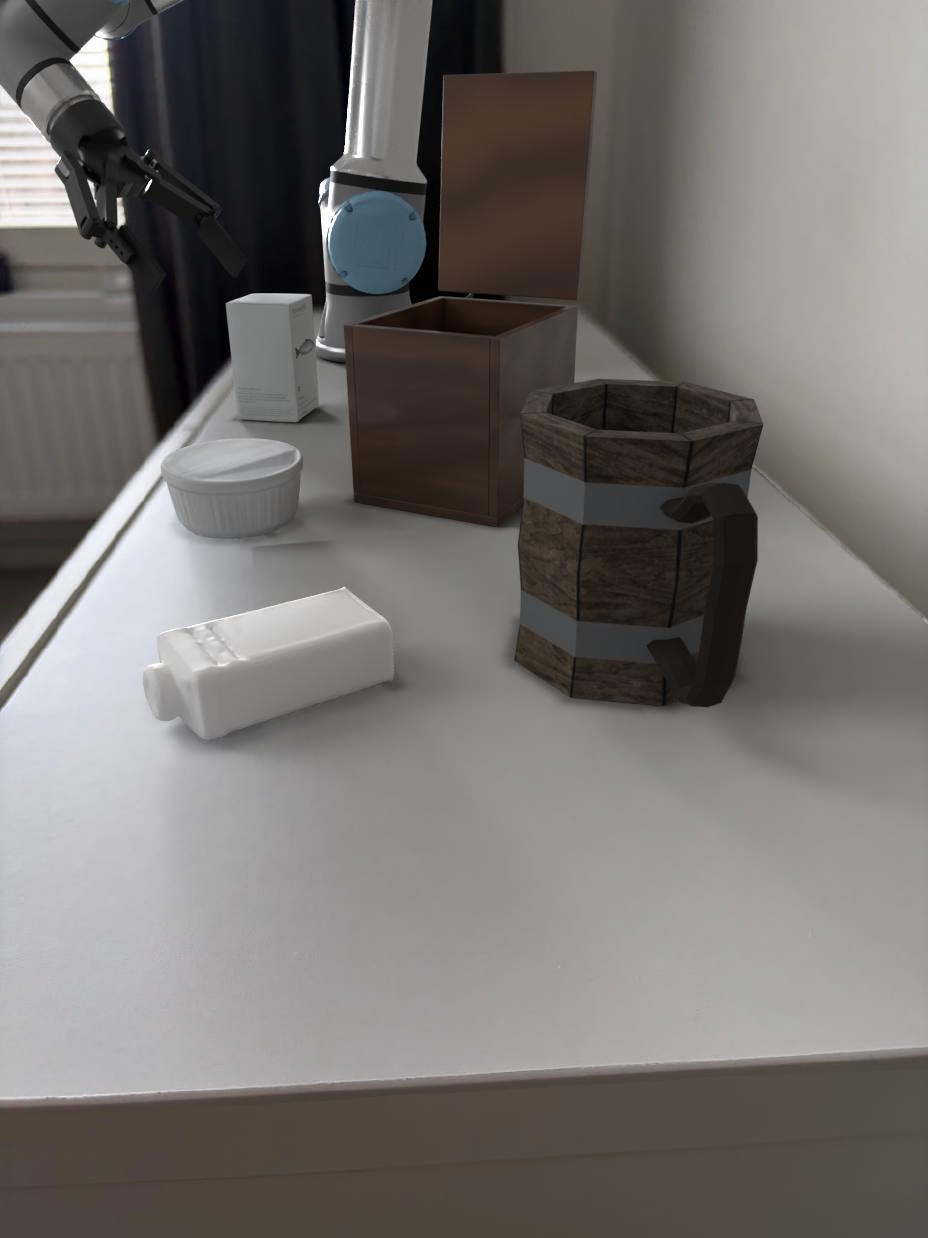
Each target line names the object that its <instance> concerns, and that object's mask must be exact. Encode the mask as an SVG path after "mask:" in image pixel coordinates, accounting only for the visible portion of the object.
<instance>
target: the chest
mask: <svg viewBox="0 0 928 1238" xmlns="http://www.w3.org/2000/svg"><path fill="white" fill-rule="evenodd" d="M578 311H579V306H578V305H568V304H555V303H554V304H553V303H542V302H529V301H528V302H526V301H515V300H514V301H513V300H499V299H498V300H497V299H488V298H487V299H486V298H474V297H473V298H465V297H456V296H446V295H445V296H442V295H440V296H437V297H433V298H430V299H426V300H423V301H420V302H417V303H412V305H409V306H406V307H402V308H399V309H396V310H392V311H389V312H386V313H382V314H379V315H375V316H372V317H369V318H365V319H362V320H359V321H355V322H352V323H349V324H345V325H344V341H345V358H346V362H345V372H346V389H347V406H348V407H347V408H348V422H349V423H348V424H349V440H350V441H349V442H350V457H351V458H350V459H351V474H352V475H351V477H352V492H353V502H354V503H359V504H364V505H371V506H376V507H381V508H386V509H387V508H388V509H393V510H399V511H404V512H410V513H415V514H422V515H427V516H432V517H433V516H434V517H439V518H445V519H451V520H457V521H462V522H467V523H472V524H479V525H485V526H490V527H499V526H500V525H501V524H503V523H504V522H505V521H506V520H508V519H509V518H510V517H512V516H513V515H514V514H516V513H517V512H518V511H520V509H522V505H523V495H524V448H523V438H522V428H521V417H520V413H521V411H522V409H523V407H524V405H525V403H526V401H527V399H528V397H529V394H530V392H531V391H533V390H538V389H544V388H549V387H555V386H561V385H566V384H572V383H575V375H576V354H577V334H578V333H577V332H578V314H579V313H578Z"/></svg>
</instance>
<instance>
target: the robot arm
mask: <svg viewBox="0 0 928 1238" xmlns="http://www.w3.org/2000/svg"><path fill="white" fill-rule="evenodd" d="M184 1H185V0H0V86H1V88H2V89H3V90H4V91H5V92H6V93H7V95H8V96H9V97H10V99H12V101H13V102H14V103H15V104H16V106H18V108H19V109H20V110H21V111H22V113H23V114H24V115H26V117H27V118H28V119H29V121H30V122H31V123H32V124H33V126H34V127H35V128H36V129H37V131H39V133H40V134H41V135H42V137H44V139H45V140H46V142H48V143H49V144H50V146H51V149H52V150H53V151H54V152H55V153H56V154H57V155H58V157H59V159H58V161H57V163H56V165H55V167H54V170H53V171H54V173H55V174H56V175H57V177H58V179H59V180H60V182H62V184H63V185H64V189H65V192H66V195H67V198H68V201H69V205H70V208H71V211H72V213H73V217H74V221H75V223H76V226H77V229H78V233H79V235H80V236H81V237H82V238H83V239H85V240H88V241H90V240H91V239H92V238H95V239H94V241H93V243H94V245H95V246H96V247H98V248H99V249H105V248H106V247H107V246H108V247H109V248H110V249H111V251H112V252H113V253H114V254H115V255H116V256H117V258H118V259H119V260H120V261H121V262H122V263H123V264H124V265H126V266H127V267H128V268H129V270H131V272H132V273H133V274H134V276H135V277H136V278H137V279H138V280H139V282H140V283H141V284H142V285H143V287H145V289H146V290H147V291H148V292H149V294H153V293H156V292H157V290H158V289H159V287H160V285H162V282H163V280H164V279H165V277H166V276H167V273H166V272H165V271H164V269H163V268H162V267H161V265H160V264H159V263H158V262H157V261H156V259H155V258H154V257H153V256H152V255H151V253H150V252H149V251H148V249H147V248H146V247H145V246H144V244H143V243H142V242H141V241H140V239H138V238H137V236H136V234H134V232H133V231H132V230H131V229H130V228H129V227H128V225H127V224H123V225H120V227H119V228H118V225H119V221H118V220H119V219H118V199H122V198H125V197H131V198H138V199H140V200H142V201H143V202H153V203H154V204H156V205H158V206H159V207H161V208H163V209H165V210H166V211H168V212H169V213H171V214H172V215H175V216H176V217H178V218H179V219H181V220H182V221H184V222H186V223H188V224H190V225H191V226H193V227H195V228H196V229H197V230H198V231H197V232H196V235H197V236H198V237H199V238H200V239H201V241H202V242H203V243H204V244H205V246H206V247H207V248H208V249H209V250H210V252H211V253H212V254H213V256H214V257H215V258H216V259H217V260H218V261H219V262H220V264H221V265H222V266H223V268H224V269H225V270H226V271H227V273H228V274H229V275H230V276H231V278H237V277H238V276H239V275H240V273H241V272H242V270H243V269H244V267H245V266H246V264H247V263H248V262H249V259H248V257H246V255H245V254H244V253H243V252H242V251H241V250H240V248H239V247H238V246H237V245H236V243H235V242H234V241H233V240H232V238H231V236H230V235H229V234H228V233H227V231H226V230H225V229H224V228H223V226H222V225H221V224H220V222H218V220H217V218H218V216H219V215H220V213H221V212H222V210H223V208H222V206H221V205H220V204H219V203H218V202H216V201H215V200H214V199H212V198H211V197H210V196H208V195H207V194H206V193H204V192H203V191H202V190H201V189H200V188H198V187H197V186H196V185H194V184H193V183H192V182H191V181H189V180H188V179H186V177H184V176H183V175H182V174H180V172H178V171H176V169H174V168H172V166H170V165H169V164H168V163H166V161H165V160H164V159H163V158H162V157H161V155H159V154H158V153H157V152H156V151H155V150H154V149H151V148H149V149H148V150H147V151H146V153H145V155H139V154H138V153H136V152H135V151H133V149H131V148H130V147H129V144H128V141H127V132H126V130H125V127H124V126H123V124H122V122H121V121H120V120H119V119H118V118H117V117H116V116H115V114H114V113H113V112H112V111H111V109H110V108H109V107H108V106H107V105H106V104H105V103H104V102H103V101H102V99H101V96H100V95H99V93H97V91H96V90H94V88H93V87H92V86H91V85H90V83H89V82H88V81H87V80H86V79H85V78H84V76H83V75H82V74H81V73H80V72H79V70H78V69H77V68H76V67H75V66H74V65H73V63H72V62H71V60H72V59H73V58H74V57H75V55H76V54H78V53H80V51H81V50H82V48H83V47H85V45H86V44H88V43H89V42H90V41H91V39H93V38H94V37H96V38H99V39H101V40H104V41H110V42H111V41H118V40H121V39H124V38H126V37H128V36H129V35H131V34H132V33H133V32H134V30H136V29H137V27H138V26H140V25H142V24H143V23H146V22H148V21H149V20H151V19H153V18H155V16H158V15H159V14H161V13H163V12H165V11H167V10H168V9H170V8H172V7H174V6H176V5H178V4H180V3H182V2H184ZM432 10H433V0H355V5H354V17H353V18H354V20H353V31H352V46H351V61H350V75H349V76H350V77H349V89H348V91H349V92H348V102H347V103H348V104H347V115H346V116H347V118H346V132H345V145H344V152H343V154H342V156H341V157H340V158H339V159H337V160H336V162H335V163H333V165H331V166H330V176H329V177H326V178H325V179H323V180H322V182H321V183H320V185H319V197H318V207H319V209H320V218H321V219H320V220H321V235H322V250H323V264H324V265H323V266H324V280H325V296H326V297H325V303H324V307H323V312H322V316H321V320H320V324H319V328H318V333H317V337H316V339H315V344H316V355H317V356H318V357H320V358H322V359H325V360H327V361H332V362H338V363H346V358H345V341H344V325H345V324H349V323H352V322H355V321H359V320H362V319H365V318H369V317H372V316H375V315H379V314H382V313H386V312H389V311H392V310H396V309H399V308H402V307H406V306H409V305H412V304H413V303H412V301H411V296H410V282H411V280H413V278H414V277H415V276H416V275H417V273H418V272H419V270H420V268H421V266H422V264H423V261H424V259H425V255H426V249H427V239H426V231H425V225H424V216H425V206H426V195H427V186H428V180H427V178H426V177H425V175H424V173H423V172H422V170H421V169H420V168H419V166H418V163H417V161H418V160H417V159H418V150H419V140H420V130H421V121H422V120H421V119H422V111H423V102H424V101H423V99H424V90H425V81H426V72H427V71H426V69H427V60H428V59H427V58H428V49H429V40H430V31H431V21H432ZM147 180H149V182H148V184H147V185H146V183H147ZM89 182H91V184H92V185H93V189H94V190H93V192H94V196H93V193H92V190H91V187H90V184H89ZM145 186H146V187H145ZM144 187H145V188H144ZM95 201H96V202H95ZM474 296H475V293H468V295H467V296H465V297H464V298H473V299H474V298H475V297H474Z"/></svg>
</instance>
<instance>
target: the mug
mask: <svg viewBox="0 0 928 1238" xmlns="http://www.w3.org/2000/svg"><path fill="white" fill-rule="evenodd" d="M520 417H521V428H522V438H523V448H524V495H523V505H522V508H521V516H520V523H519V531H518V541H517V554H518V568H519V569H518V571H519V584H520V603H519V604H520V605H519V606H520V608H519V609H520V610H519V627H518V634H517V640H516V647H515V652H514V659H513V661H514V662H516V663H517V664H519V665H520V666H522V667H523V668H525V669H526V670H528V671H529V672H531V673H532V674H534V675H536V676H537V677H538V678H540V679H542V680H543V681H545V682H546V683H547V684H549V685H551V686H552V687H554V688H555V689H557V690H558V691H560V692H561V693H563V694H565V695H566V696H568V697H569V698H573V699H584V700H594V701H595V700H596V701H605V702H606V701H607V702H615V703H616V702H617V703H630V704H641V705H652V706H663V707H665V706H667V705H669V704H671V703H674V702H676V701H678V702H680V703H682V704H685V705H688V706H690V707H695V708H710V707H713V706H716V705H718V704H721V703H722V702H723V700H724V698H725V696H726V694H727V693H728V692H729V690H730V687H731V686H732V684H733V683H734V680H735V677H736V674H737V669H738V663H739V658H740V653H741V649H742V648H741V647H742V646H741V645H742V642H743V634H744V628H745V622H746V616H747V607H748V604H749V599H750V595H751V591H752V586H753V582H754V577H755V573H756V569H757V566H758V561H759V560H758V557H759V556H758V555H759V553H758V551H759V549H758V547H759V545H758V544H759V543H758V542H759V541H758V540H759V538H758V537H759V533H758V532H759V529H758V528H759V516H758V514H757V512H756V511H755V509H754V506H753V505H752V504H751V502H750V500H749V491H750V483H751V476H752V469H753V465H754V461H755V458H756V455H757V450H758V446H759V443H760V439H761V435H762V431H763V427H764V423H763V420H762V417H761V413H760V411H759V408H758V406H757V402H756V400H755V399H754V398H750V397H746V396H742V395H738V394H735V393H730V392H727V391H723V390H719V389H715V388H712V387H708V386H703V385H699V384H695V383H691V382H689V381H688V382H687V381H672V380H647V379H646V380H642V379H619V378H617V379H616V378H593V379H589V380H584V381H577V382H574V383H572V384H566V385H561V386H555V387H549V388H544V389H538V390H533V391H531V392H530V394H529V397H528V399H527V401H526V403H525V405H524V407H523V409H522V411H521V413H520Z"/></svg>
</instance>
